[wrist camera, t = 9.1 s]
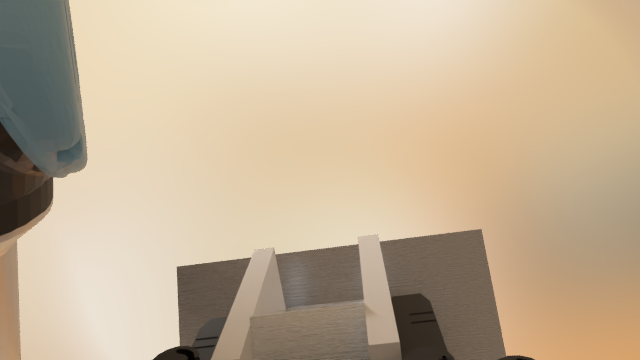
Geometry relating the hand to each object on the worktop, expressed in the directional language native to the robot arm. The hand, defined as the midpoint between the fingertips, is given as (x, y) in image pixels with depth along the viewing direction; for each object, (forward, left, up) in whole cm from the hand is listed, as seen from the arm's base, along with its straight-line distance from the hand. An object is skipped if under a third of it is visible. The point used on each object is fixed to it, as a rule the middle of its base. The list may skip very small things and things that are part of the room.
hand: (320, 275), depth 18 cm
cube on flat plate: (-2, +1, -6) cm, 6 cm away
